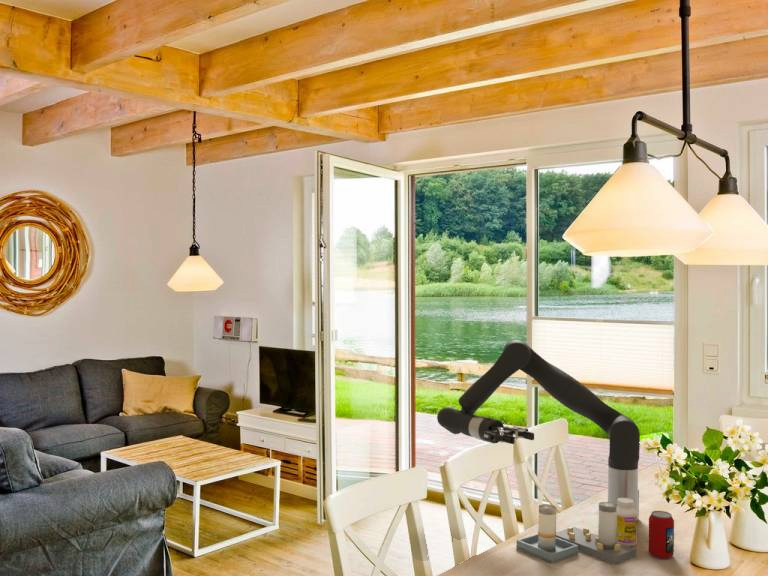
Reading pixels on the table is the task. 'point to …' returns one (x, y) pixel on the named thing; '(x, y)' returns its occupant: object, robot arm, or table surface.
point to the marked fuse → (547, 527)
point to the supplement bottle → (626, 522)
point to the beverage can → (661, 535)
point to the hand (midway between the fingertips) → (523, 438)
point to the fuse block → (595, 545)
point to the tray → (561, 552)
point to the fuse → (607, 525)
